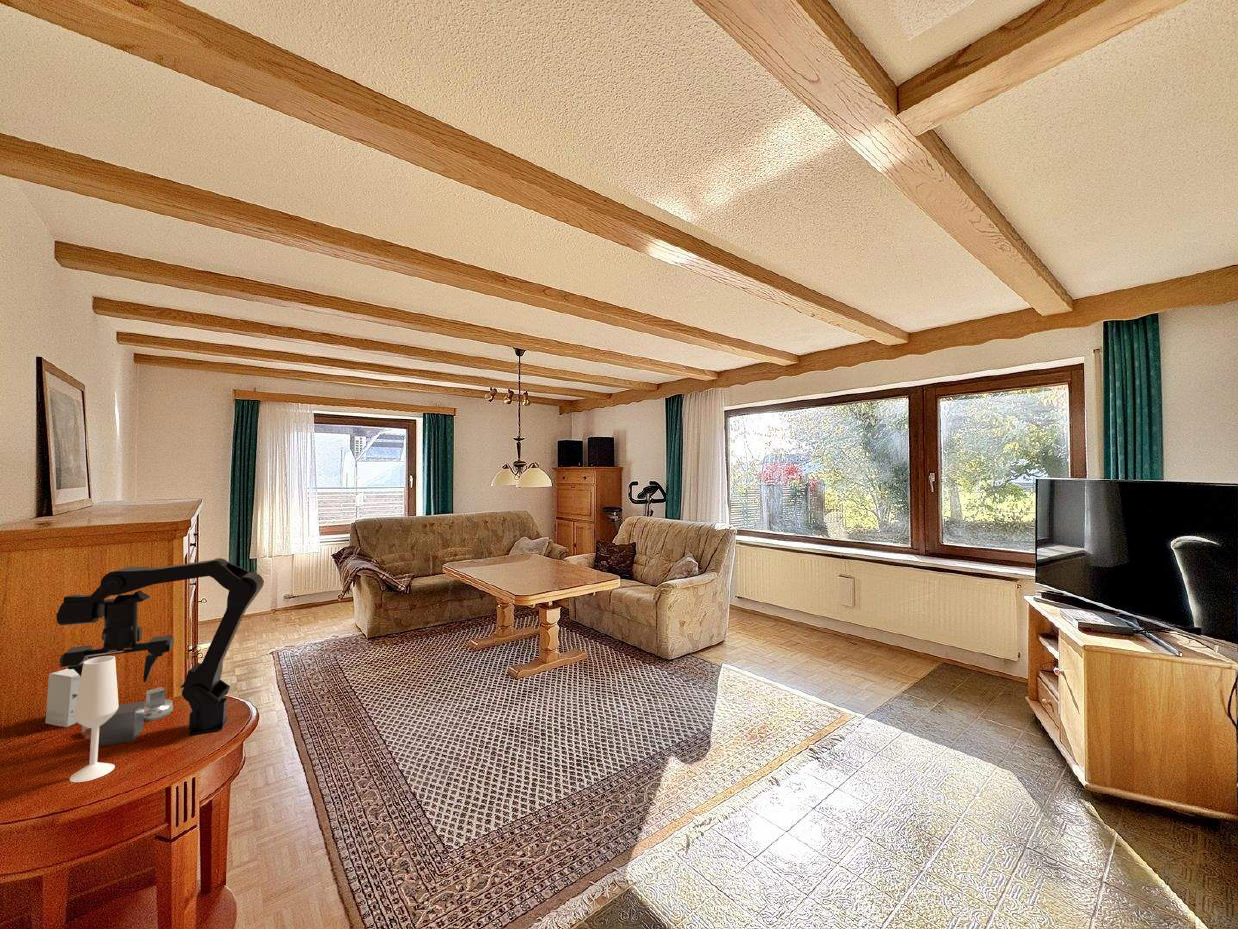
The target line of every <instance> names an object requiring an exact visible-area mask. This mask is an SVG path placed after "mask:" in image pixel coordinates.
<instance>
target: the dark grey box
mask: <svg viewBox="0 0 1238 929" xmlns="http://www.w3.org/2000/svg"><path fill="white" fill-rule="evenodd" d="M145 703H146V700H143V701H136V702H135V701H134V702H127V703H120V704H119V703H118V704H119V707H118V710H117V711H116V713H115V714H114V715H113V716H112V717H111V718H110V719H109V720H107V721H106V722H105V723H104V724H103V725H101V726H100V734H99V742H98V748H101V747H105V746H111V745H119V744H122V743H123V744H124V743H130V742H134V741H135V740H136V739H137V737H138V736H139V735H140V734H141V732H142V731H143V730H144V722H143V721H144V704H145Z"/></svg>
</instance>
